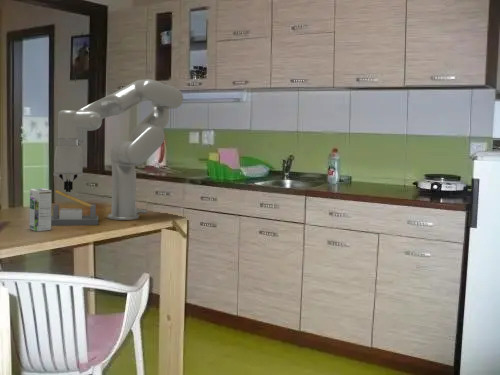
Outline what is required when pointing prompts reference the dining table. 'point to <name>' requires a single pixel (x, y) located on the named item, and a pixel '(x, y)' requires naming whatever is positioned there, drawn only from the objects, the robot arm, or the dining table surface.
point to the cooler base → (74, 216)
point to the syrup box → (40, 209)
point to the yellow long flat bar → (73, 198)
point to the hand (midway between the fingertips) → (68, 191)
